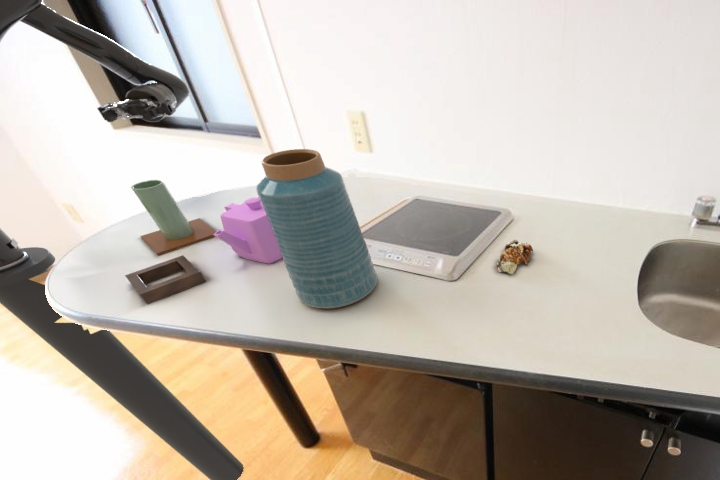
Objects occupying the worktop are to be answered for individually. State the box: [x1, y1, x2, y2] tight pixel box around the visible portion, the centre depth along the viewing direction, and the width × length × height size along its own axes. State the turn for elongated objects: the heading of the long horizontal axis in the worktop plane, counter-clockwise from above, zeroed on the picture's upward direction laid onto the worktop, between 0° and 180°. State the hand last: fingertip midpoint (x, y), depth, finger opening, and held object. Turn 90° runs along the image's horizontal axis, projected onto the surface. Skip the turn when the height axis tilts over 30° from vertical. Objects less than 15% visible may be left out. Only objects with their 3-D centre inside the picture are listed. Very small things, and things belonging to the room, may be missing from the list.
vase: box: [255, 148, 378, 309], centre depth 69 cm, size 16×16×27 cm
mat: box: [139, 217, 218, 256], centre depth 96 cm, size 14×14×1 cm
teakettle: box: [213, 196, 283, 265], centre depth 87 cm, size 17×17×12 cm
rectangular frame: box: [124, 255, 207, 305], centre depth 79 cm, size 11×11×2 cm
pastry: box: [496, 239, 534, 275], centre depth 85 cm, size 7×12×4 cm, turn 162°
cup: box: [130, 179, 193, 240], centre depth 91 cm, size 6×6×13 cm
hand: (128, 115), depth 86 cm, fingers open, 8 cm apart
